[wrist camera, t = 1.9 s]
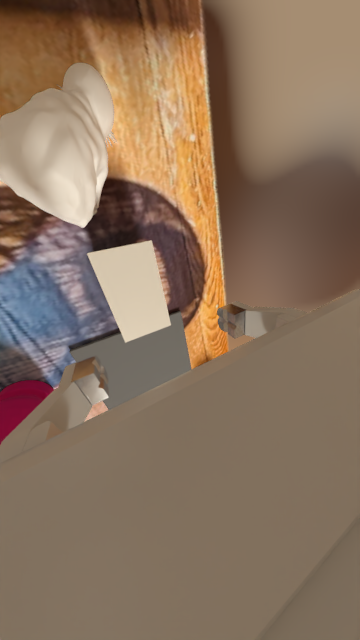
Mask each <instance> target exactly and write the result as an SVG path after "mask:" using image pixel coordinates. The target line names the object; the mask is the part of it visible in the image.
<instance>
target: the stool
mask: <svg viewBox="0 0 360 640" xmlns="http://www.w3.org/2000/svg"><path fill="white" fill-rule="evenodd" d="M87 255H88V257H89V260H90V262H91V264H92V267H93V269H94V271H95V273H96V276H97V278H98V280H99V283H100V285H101V287H102V290H103V292H104V294H105V297H106V299H107V301H108V304H109V306H110V308H111V311H112V313H113V315H114V318H115V320H116V322H117V324H118V327H119V329H120V331H121V334H122V336H123V338H124V341H125V343H126V342H129V341H131V340H134V339H136V338H139V337H142V336H144V335H147V334H150V333H152V332H155V331H157V330H160V329H163V328H165V327H168V326H170V325H171V322H170V318H169V314H168V309H167V305H166V301H165V296H164V292H163V288H162V283H161V279H160V275H159V270H158V266H157V262H156V257H155V253H154V249H153V244H152V241H145V242H140V243H135V244H130V245H125V246H120V247H115V248H110V249H105V250H100V251H95V252H90V253H87Z"/></svg>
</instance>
